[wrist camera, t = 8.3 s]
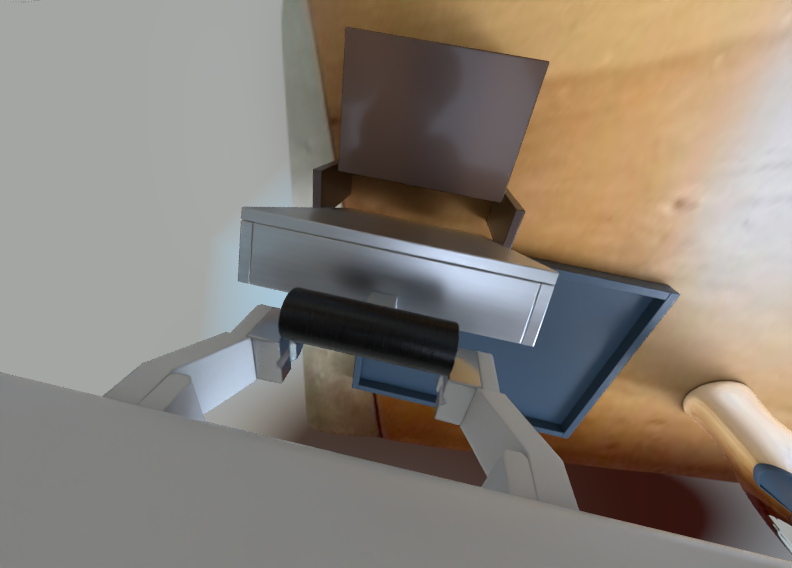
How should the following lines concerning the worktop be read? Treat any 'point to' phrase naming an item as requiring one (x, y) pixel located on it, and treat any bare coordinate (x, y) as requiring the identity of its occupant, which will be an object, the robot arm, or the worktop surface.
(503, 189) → the stand
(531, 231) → the worktop surface
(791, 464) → the silver metal vase
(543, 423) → the tray
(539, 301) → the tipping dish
